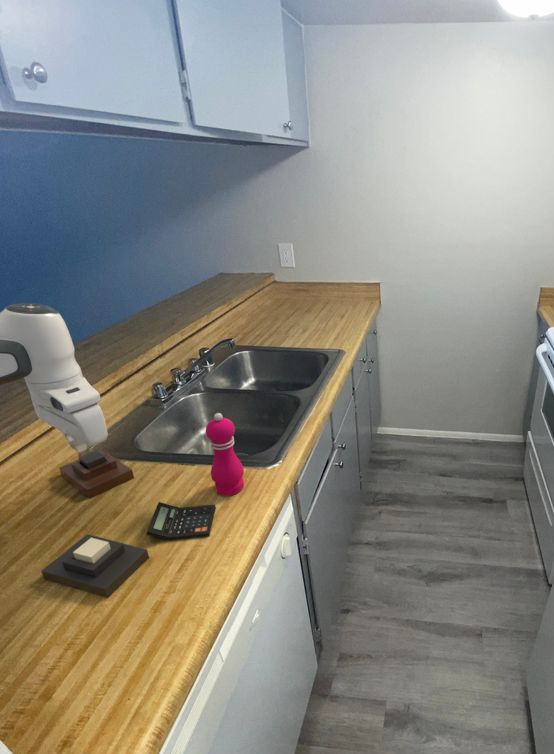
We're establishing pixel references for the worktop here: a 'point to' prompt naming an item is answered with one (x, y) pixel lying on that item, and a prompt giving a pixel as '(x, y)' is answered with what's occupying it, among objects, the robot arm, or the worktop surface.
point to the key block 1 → (97, 475)
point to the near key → (91, 550)
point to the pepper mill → (224, 457)
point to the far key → (92, 459)
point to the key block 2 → (96, 568)
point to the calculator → (181, 522)
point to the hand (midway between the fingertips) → (79, 449)
